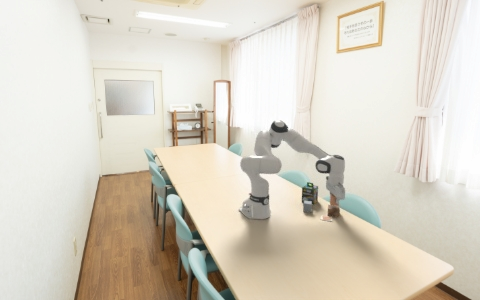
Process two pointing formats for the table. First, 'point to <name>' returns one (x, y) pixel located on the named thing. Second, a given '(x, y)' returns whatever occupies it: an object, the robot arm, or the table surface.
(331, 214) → the walnut base
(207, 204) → the table surface
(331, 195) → the terracotta block
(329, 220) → the swatch
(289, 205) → the table surface
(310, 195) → the dark product box
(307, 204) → the slate block
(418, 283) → the table surface
